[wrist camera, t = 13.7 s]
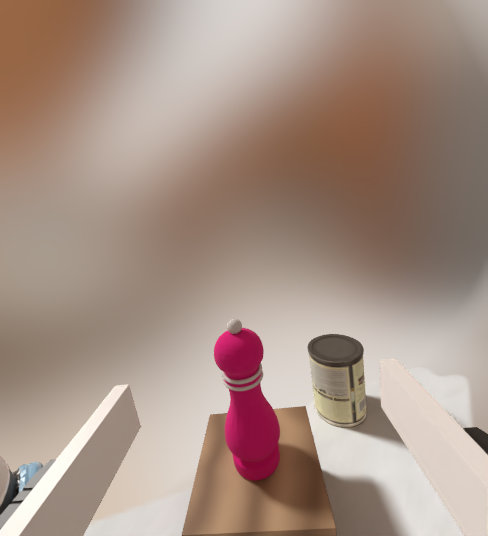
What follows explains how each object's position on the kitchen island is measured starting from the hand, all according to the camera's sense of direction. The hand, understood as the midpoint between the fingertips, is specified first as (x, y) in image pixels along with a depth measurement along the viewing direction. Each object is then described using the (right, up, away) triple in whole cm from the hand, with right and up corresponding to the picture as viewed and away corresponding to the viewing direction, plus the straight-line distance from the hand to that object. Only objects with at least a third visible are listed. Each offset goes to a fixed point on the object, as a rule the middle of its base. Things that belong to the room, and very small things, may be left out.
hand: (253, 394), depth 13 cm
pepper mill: (+1, -19, +20) cm, 28 cm away
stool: (+3, -29, +22) cm, 36 cm away
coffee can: (+20, -23, +39) cm, 49 cm away
